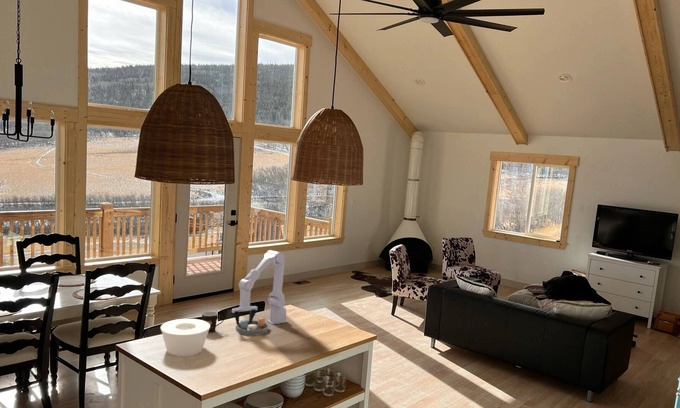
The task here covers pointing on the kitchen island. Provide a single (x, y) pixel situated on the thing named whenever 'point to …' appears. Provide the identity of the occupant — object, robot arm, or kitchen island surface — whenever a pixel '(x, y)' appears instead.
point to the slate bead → (244, 324)
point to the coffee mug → (211, 319)
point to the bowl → (185, 336)
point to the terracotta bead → (261, 322)
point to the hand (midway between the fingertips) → (244, 323)
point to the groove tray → (253, 329)
